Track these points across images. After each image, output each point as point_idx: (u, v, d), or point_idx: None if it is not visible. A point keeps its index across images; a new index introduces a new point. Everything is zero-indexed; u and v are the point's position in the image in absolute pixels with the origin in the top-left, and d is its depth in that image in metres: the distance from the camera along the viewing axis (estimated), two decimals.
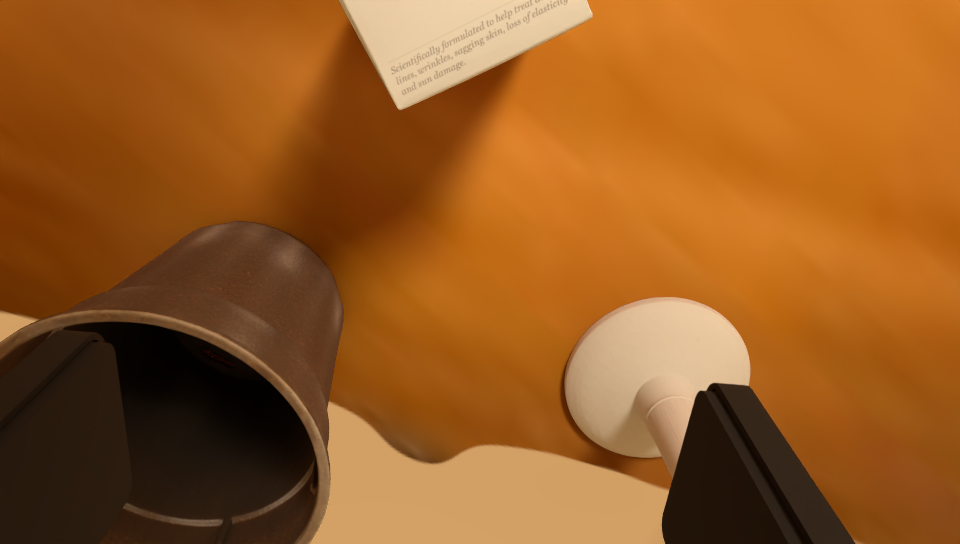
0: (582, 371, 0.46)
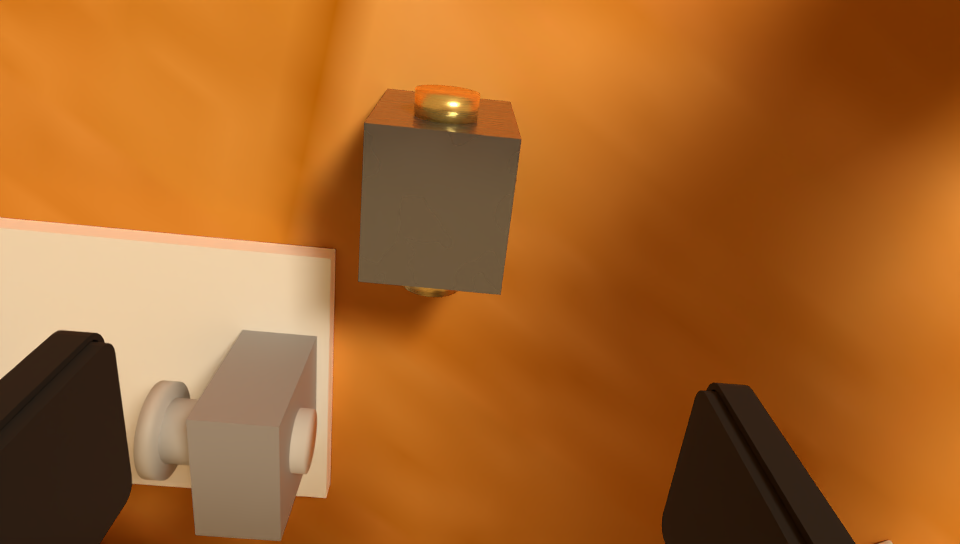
0: None
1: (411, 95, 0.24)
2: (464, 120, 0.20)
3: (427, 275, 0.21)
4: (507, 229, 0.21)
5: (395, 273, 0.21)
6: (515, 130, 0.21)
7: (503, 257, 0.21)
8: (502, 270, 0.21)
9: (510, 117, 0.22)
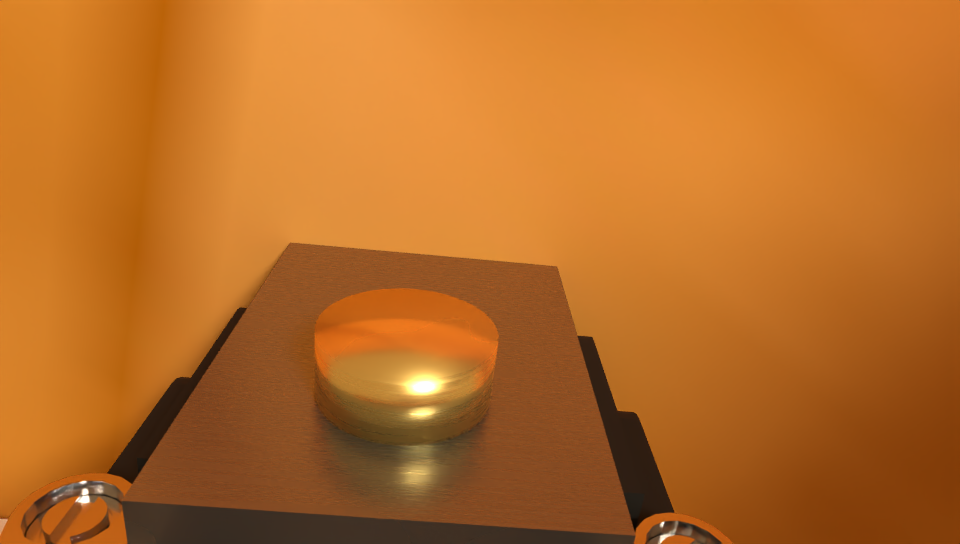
0: None
1: (336, 268, 0.11)
2: (454, 429, 0.07)
3: None
4: None
5: None
6: (600, 451, 0.07)
7: None
8: None
9: (571, 356, 0.09)
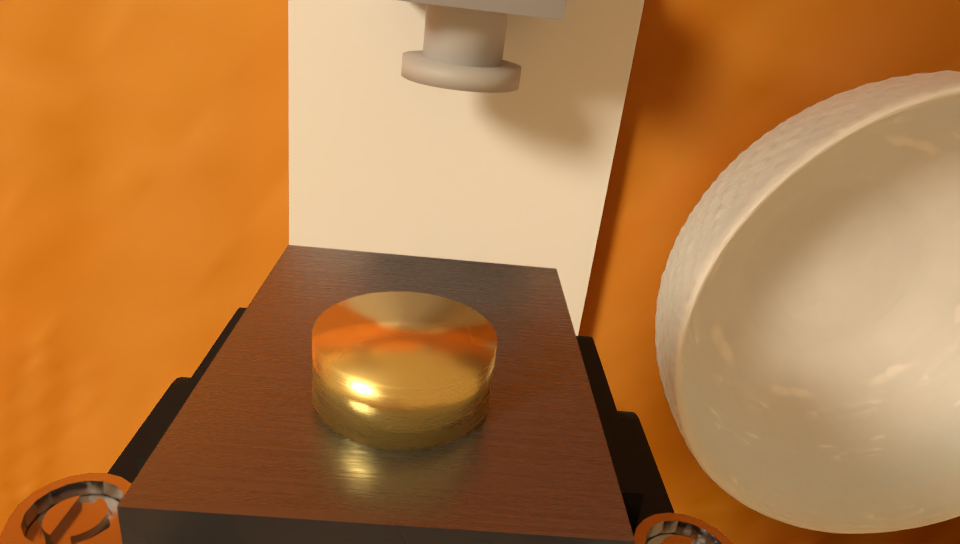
0: None
1: (335, 271, 0.11)
2: (452, 433, 0.07)
3: None
4: None
5: None
6: (600, 455, 0.07)
7: None
8: None
9: (571, 358, 0.09)
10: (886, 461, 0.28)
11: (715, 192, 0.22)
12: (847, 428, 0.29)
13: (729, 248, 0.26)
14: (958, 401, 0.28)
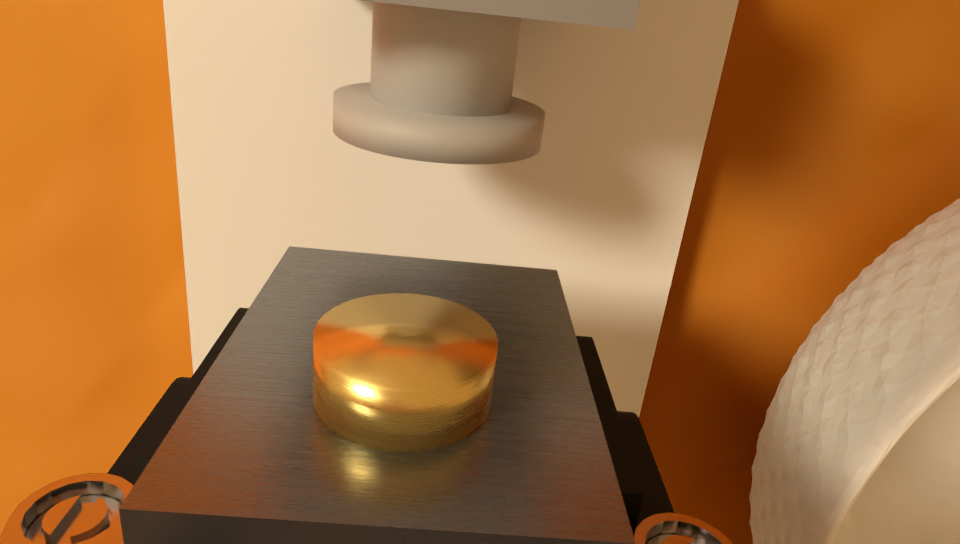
0: None
1: (336, 272, 0.11)
2: (453, 435, 0.07)
3: None
4: None
5: None
6: (600, 457, 0.07)
7: None
8: None
9: (571, 360, 0.09)
10: None
11: (868, 312, 0.13)
12: None
13: None
14: None
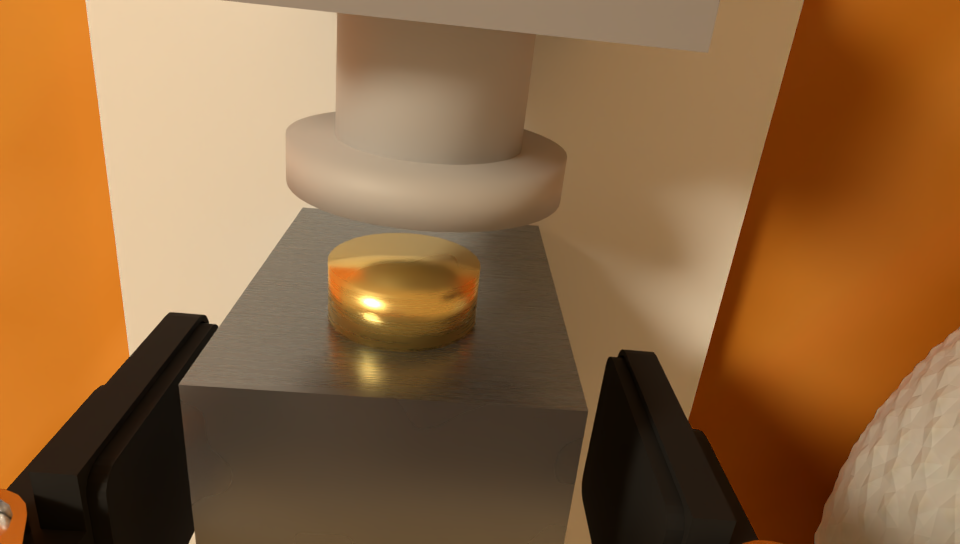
0: None
1: (344, 227, 0.12)
2: (443, 339, 0.09)
3: None
4: None
5: None
6: (564, 356, 0.09)
7: None
8: None
9: (546, 291, 0.10)
10: None
11: None
12: None
13: None
14: None
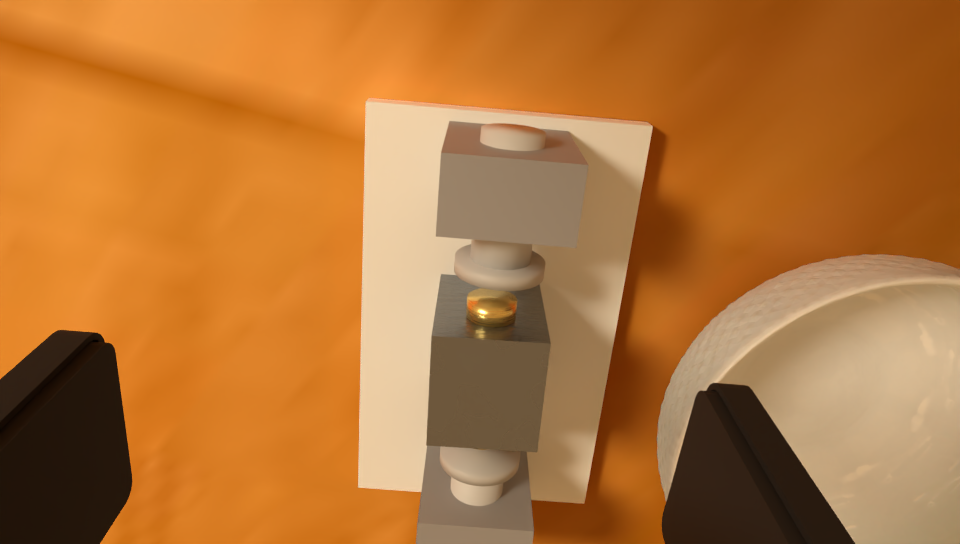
0: None
1: (460, 283, 0.30)
2: (506, 323, 0.27)
3: (479, 439, 0.27)
4: (541, 406, 0.27)
5: (455, 439, 0.27)
6: (545, 329, 0.27)
7: (538, 425, 0.27)
8: (538, 435, 0.27)
9: (540, 308, 0.28)
10: None
11: (699, 347, 0.28)
12: None
13: None
14: (916, 497, 0.33)
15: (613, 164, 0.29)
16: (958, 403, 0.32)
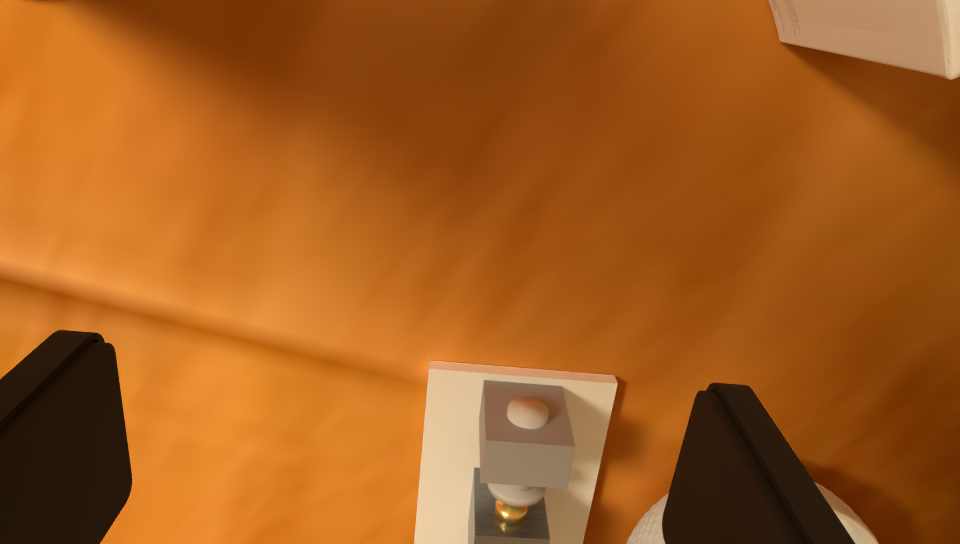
0: None
1: None
2: (521, 521, 0.41)
3: None
4: None
5: None
6: (546, 525, 0.41)
7: None
8: None
9: (542, 502, 0.43)
10: None
11: (646, 528, 0.43)
12: None
13: None
14: None
15: (591, 404, 0.44)
16: None
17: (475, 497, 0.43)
